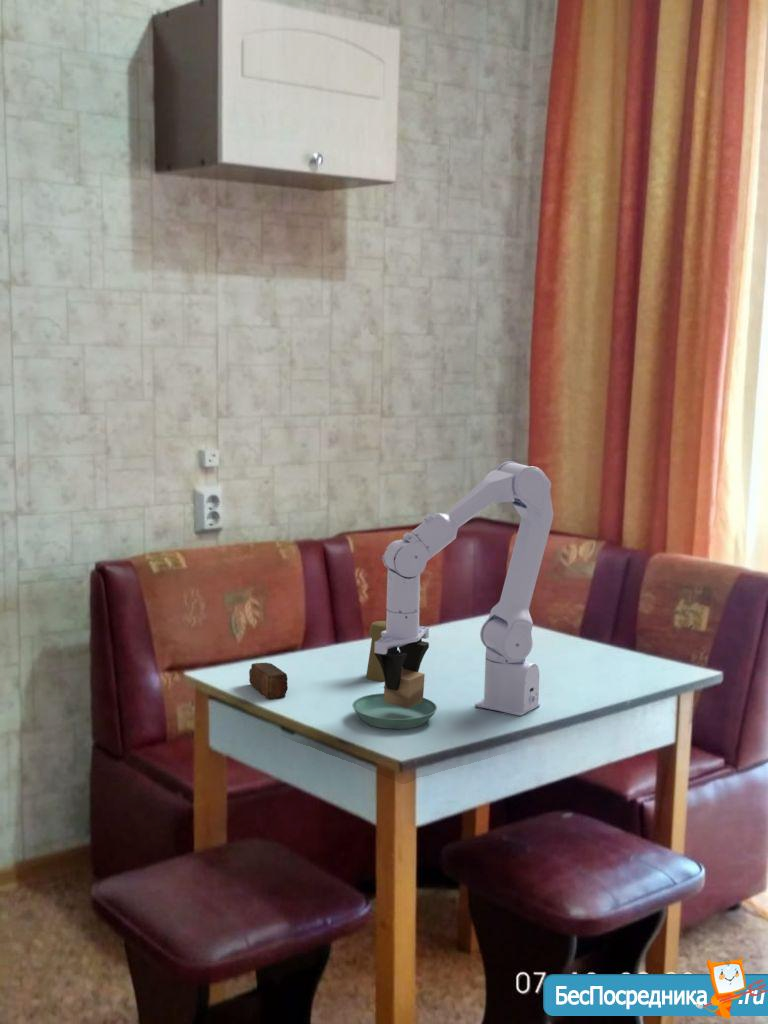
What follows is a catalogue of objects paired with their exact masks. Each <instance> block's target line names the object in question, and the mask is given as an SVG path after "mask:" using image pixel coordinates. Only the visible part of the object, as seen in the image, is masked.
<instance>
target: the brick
mask: <svg viewBox="0 0 768 1024" xmlns="http://www.w3.org/2000/svg"><path fill="white" fill-rule="evenodd" d="M248 675H249V679H248V680H249V681H248V682H249V683H250V684H249V685H251V686H252V688H253V687H254V688H253V689H255V690H256V691H257V692H258V691H259V694H261V696H263V695H264V696H265V697H264V696H263V697H264V698H266V700H274V699H273V698H277V699H283V698H282V697H285V698H286V695H287V691H288V675H287V673H286V672H284V671H283V670H282V669H280V668H279V667H277V666H276V665H274V664H273V663H270V662H256V663H251V668H250V669H249V672H248Z"/></svg>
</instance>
